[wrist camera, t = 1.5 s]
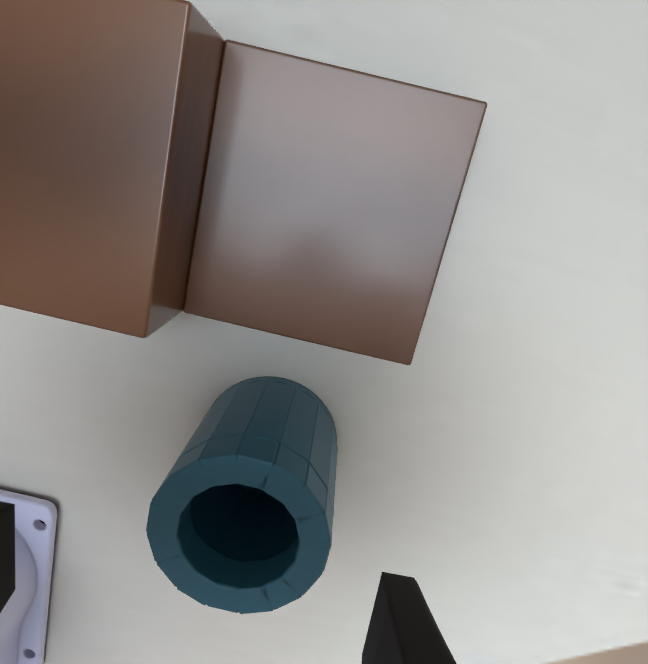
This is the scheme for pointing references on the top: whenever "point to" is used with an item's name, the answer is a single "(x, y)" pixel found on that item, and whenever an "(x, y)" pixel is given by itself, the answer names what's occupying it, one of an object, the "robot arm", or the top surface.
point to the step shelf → (218, 179)
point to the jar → (250, 499)
